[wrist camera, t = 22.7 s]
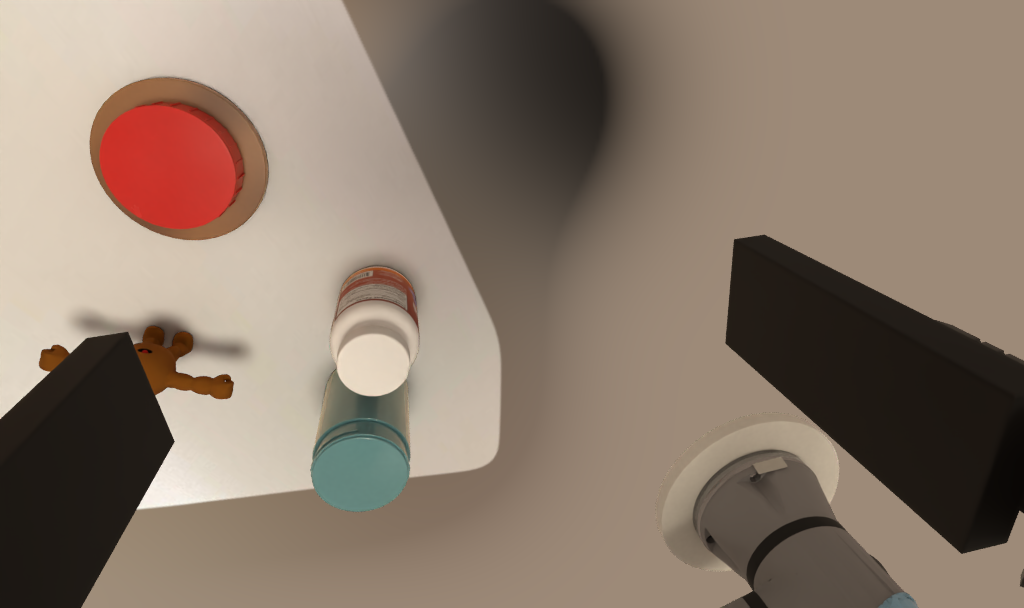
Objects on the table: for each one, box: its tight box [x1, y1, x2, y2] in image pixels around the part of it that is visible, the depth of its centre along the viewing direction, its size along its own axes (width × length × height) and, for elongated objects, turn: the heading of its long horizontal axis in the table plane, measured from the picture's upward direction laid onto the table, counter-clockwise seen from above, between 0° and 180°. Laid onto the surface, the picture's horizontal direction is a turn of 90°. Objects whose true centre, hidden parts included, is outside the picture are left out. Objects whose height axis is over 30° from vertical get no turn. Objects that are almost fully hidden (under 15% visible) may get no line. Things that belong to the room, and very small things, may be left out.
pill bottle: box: [330, 266, 420, 396], centre depth 42 cm, size 6×6×11 cm
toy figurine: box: [39, 326, 234, 399], centre depth 42 cm, size 12×4×7 cm, turn 71°
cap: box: [99, 101, 245, 229], centre depth 38 cm, size 8×8×2 cm
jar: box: [310, 369, 410, 512], centre depth 45 cm, size 7×7×11 cm
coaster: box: [90, 78, 268, 240], centre depth 39 cm, size 11×11×1 cm
